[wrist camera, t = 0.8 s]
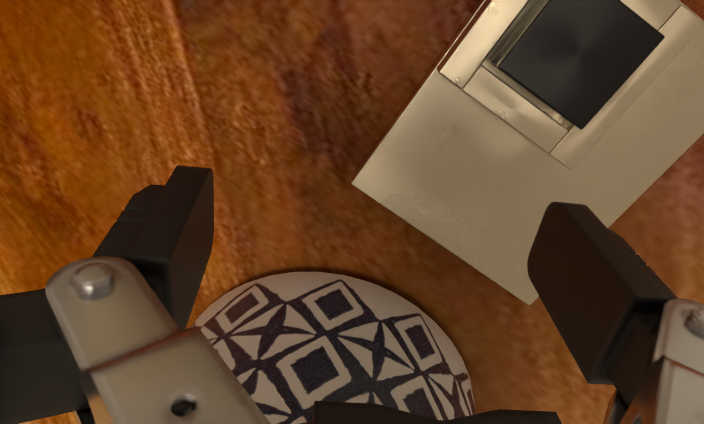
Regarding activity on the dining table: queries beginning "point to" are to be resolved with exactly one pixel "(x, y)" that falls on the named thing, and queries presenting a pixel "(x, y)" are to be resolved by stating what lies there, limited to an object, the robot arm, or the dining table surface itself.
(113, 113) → the dining table surface
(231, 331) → the planter
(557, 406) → the dining table surface
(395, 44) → the dining table surface
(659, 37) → the key
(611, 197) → the keypad
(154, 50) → the dining table surface
